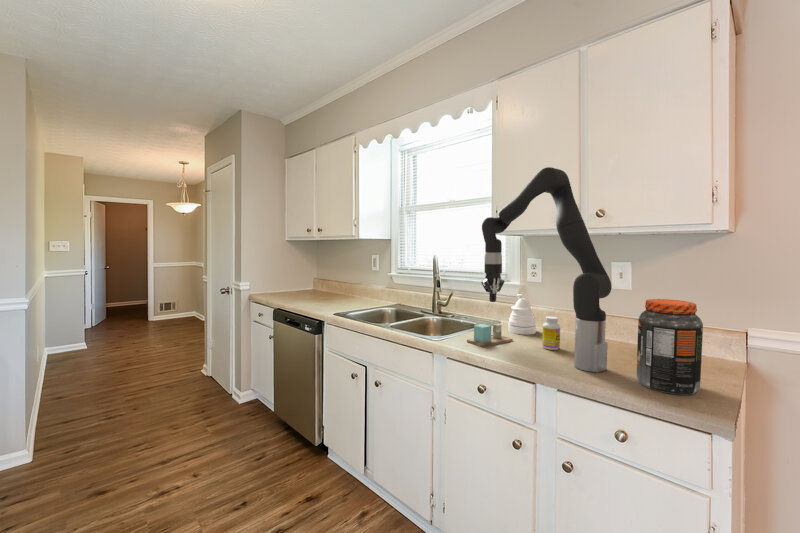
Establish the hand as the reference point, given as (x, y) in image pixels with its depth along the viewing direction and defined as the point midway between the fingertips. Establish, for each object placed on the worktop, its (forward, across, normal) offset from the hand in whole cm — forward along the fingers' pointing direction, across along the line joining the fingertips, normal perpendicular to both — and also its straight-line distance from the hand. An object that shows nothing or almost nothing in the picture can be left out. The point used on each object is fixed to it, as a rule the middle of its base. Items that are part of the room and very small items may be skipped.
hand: (492, 301), depth 164 cm
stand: (+17, -3, -1) cm, 18 cm away
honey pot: (+18, +25, +3) cm, 31 cm away
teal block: (+16, -7, -1) cm, 18 cm away
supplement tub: (+18, +3, -66) cm, 69 cm away
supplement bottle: (+18, +10, -22) cm, 30 cm away
